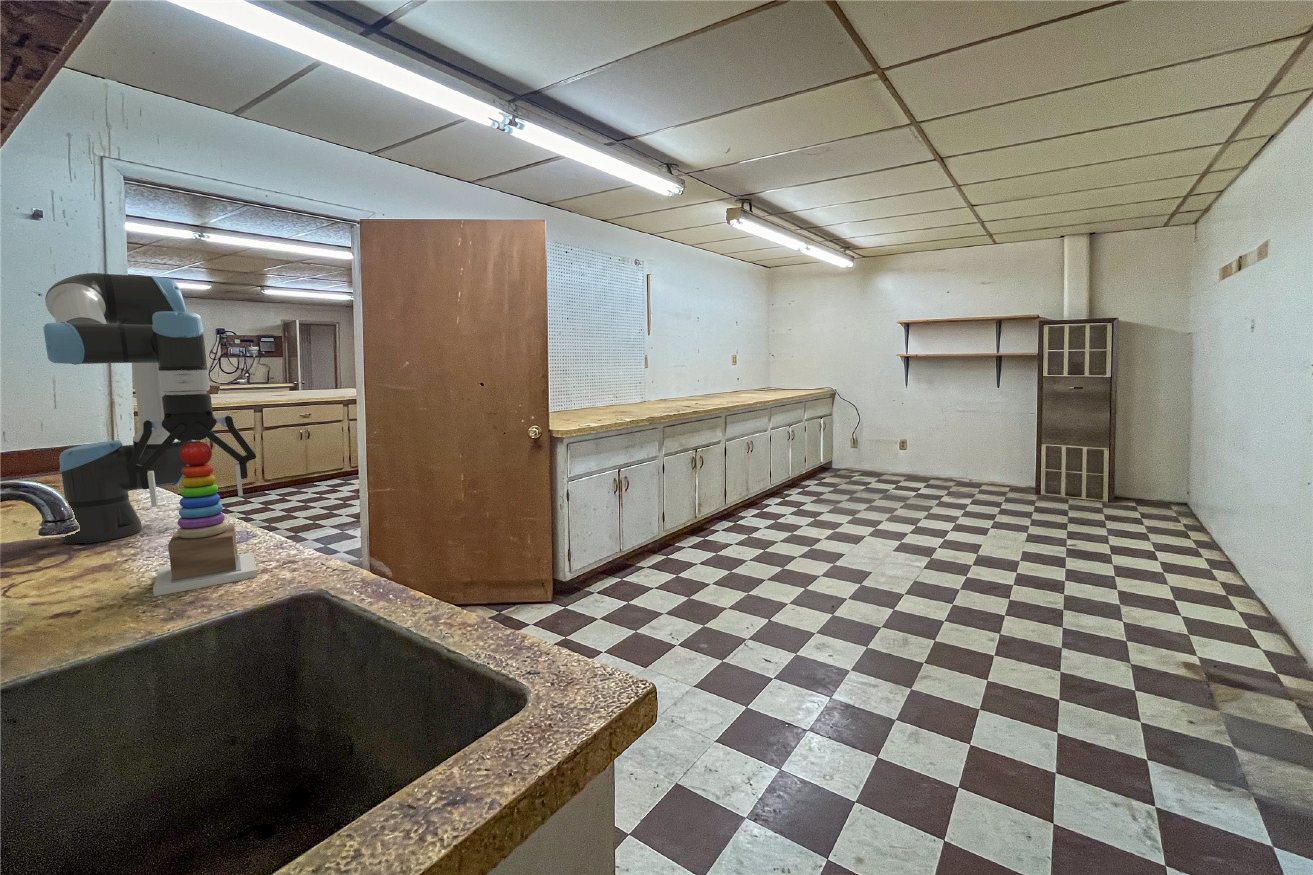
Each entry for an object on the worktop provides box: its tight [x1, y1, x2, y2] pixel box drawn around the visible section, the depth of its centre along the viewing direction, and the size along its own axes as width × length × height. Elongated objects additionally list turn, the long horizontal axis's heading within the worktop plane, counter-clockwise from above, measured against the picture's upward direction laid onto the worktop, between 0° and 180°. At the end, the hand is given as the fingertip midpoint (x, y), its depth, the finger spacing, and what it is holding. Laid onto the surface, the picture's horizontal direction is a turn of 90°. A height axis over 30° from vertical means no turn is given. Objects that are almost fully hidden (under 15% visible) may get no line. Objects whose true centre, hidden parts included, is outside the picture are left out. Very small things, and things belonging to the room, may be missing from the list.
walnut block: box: [167, 524, 239, 581], centre depth 121 cm, size 10×10×7 cm
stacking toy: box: [177, 440, 228, 539], centre depth 119 cm, size 8×8×19 cm
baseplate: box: [152, 551, 258, 597], centre depth 121 cm, size 14×16×2 cm
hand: (199, 500), depth 119 cm, fingers open, 13 cm apart
